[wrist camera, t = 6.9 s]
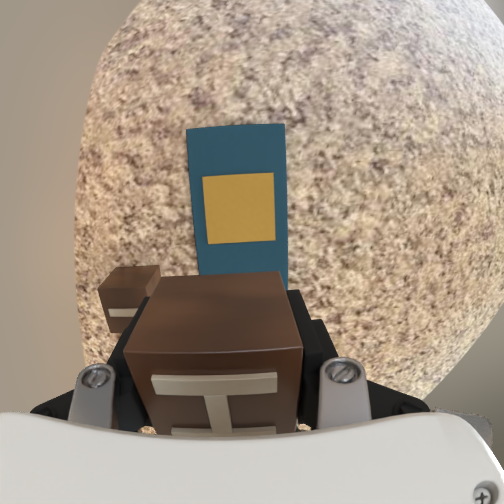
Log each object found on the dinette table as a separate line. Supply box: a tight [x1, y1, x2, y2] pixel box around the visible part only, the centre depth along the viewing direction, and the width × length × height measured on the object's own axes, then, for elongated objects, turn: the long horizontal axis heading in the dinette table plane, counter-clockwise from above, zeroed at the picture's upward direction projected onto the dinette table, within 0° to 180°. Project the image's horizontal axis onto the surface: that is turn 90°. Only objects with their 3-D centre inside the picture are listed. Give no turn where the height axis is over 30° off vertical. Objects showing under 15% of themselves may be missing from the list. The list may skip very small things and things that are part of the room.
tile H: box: [123, 271, 303, 437], centre depth 9 cm, size 4×4×5 cm
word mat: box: [186, 124, 288, 290], centre depth 26 cm, size 8×24×1 cm, turn 3°
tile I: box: [98, 265, 161, 333], centre depth 25 cm, size 4×4×5 cm
